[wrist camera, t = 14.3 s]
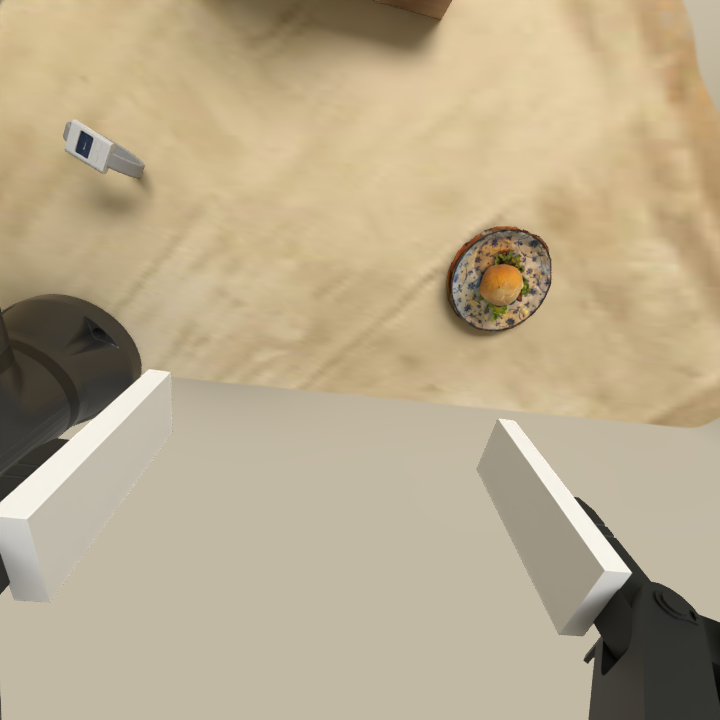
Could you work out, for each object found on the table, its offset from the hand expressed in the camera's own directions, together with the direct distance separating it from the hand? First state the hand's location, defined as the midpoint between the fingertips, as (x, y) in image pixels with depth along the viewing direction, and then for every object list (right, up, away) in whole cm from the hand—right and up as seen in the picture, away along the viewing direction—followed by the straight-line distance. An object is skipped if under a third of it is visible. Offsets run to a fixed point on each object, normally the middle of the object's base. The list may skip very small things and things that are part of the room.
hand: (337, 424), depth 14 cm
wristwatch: (-22, +23, +20) cm, 38 cm away
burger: (+17, +12, +27) cm, 34 cm away
